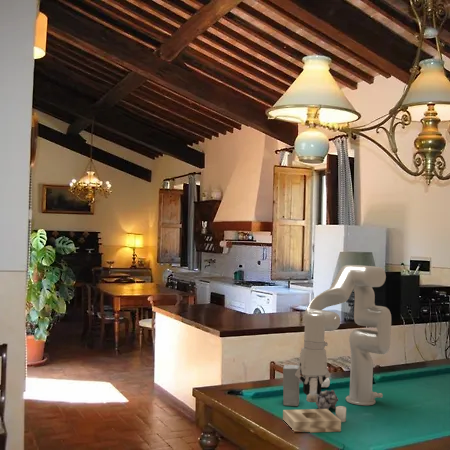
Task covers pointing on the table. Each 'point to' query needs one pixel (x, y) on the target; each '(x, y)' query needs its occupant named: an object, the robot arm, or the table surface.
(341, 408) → the short white pin
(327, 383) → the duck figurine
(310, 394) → the grey beige post
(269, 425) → the table surface
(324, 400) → the mineral specimen
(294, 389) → the skincare box
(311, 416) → the hole slab
